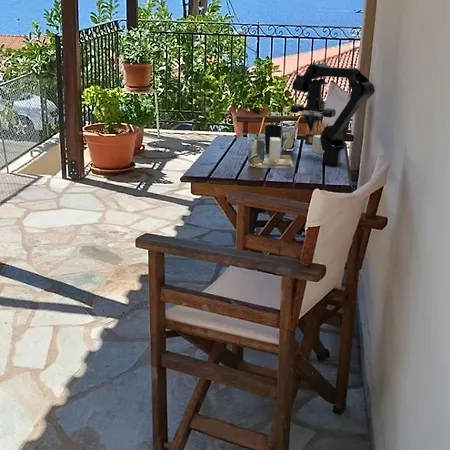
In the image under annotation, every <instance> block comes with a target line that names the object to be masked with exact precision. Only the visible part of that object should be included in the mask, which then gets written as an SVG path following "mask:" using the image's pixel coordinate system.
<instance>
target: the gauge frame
mask: <svg viewBox="0 0 450 450" xmlns="http://www.w3.org/2000/svg"><path fill="white" fill-rule="evenodd" d="M256 142H257V148H256V147H255V154H256V153H257V157H259V158H260V159H261V160H262V163H258V164H255V163H254V162H253V167H254V168H260V169H261V168H262V169H263V168H264V169H265V168H266V169H289V170H290V169H292V170H294V169H295V166H294V163H293V161H292V155H289V154H288V155H287V154H286V155H285V154H280V161H279V162H277V163H274V162H270V161H269V154H267V155H266V156H267V157H265V139H264V136H256ZM263 158H264V161H263Z"/></svg>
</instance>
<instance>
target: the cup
mask: <svg viewBox="0 0 450 450" xmlns="http://www.w3.org/2000/svg"><path fill="white" fill-rule="evenodd" d="M282 130H283V126H282V125H278V124H265V125H264V143H265V149H264V153H265V152H266V153H267V155H269V147H270V137H277V138H280V139H281V137H282ZM266 153H265V154H266Z"/></svg>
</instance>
